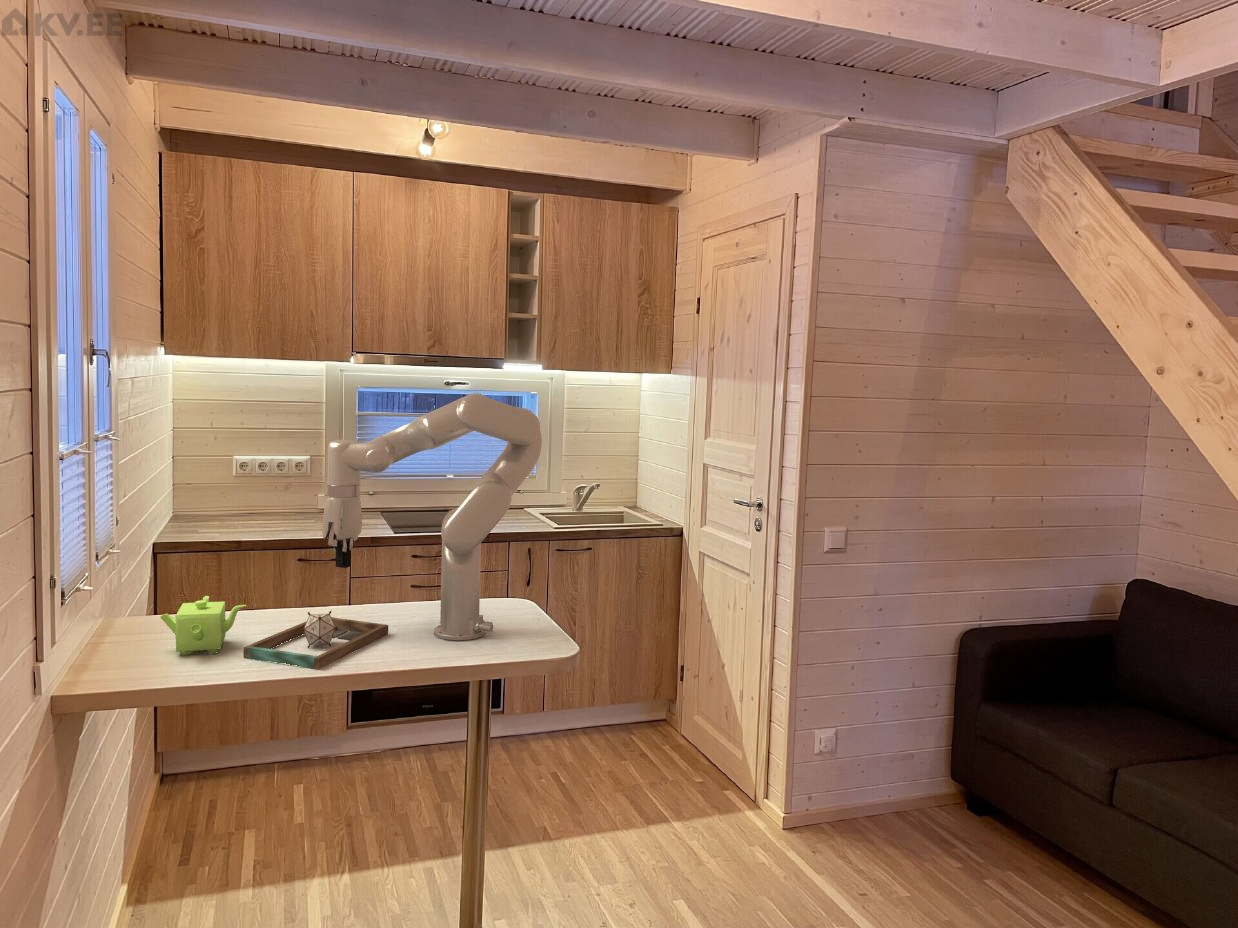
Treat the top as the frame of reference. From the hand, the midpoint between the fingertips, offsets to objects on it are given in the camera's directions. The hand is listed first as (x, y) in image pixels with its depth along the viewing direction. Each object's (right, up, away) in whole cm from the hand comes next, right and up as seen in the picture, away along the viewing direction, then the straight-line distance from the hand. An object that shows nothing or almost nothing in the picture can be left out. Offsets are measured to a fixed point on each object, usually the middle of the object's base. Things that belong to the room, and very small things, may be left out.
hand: (343, 566), depth 220 cm
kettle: (-28, -18, -12) cm, 35 cm away
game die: (-3, -18, -7) cm, 20 cm away
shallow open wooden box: (-3, -18, -7) cm, 19 cm away
